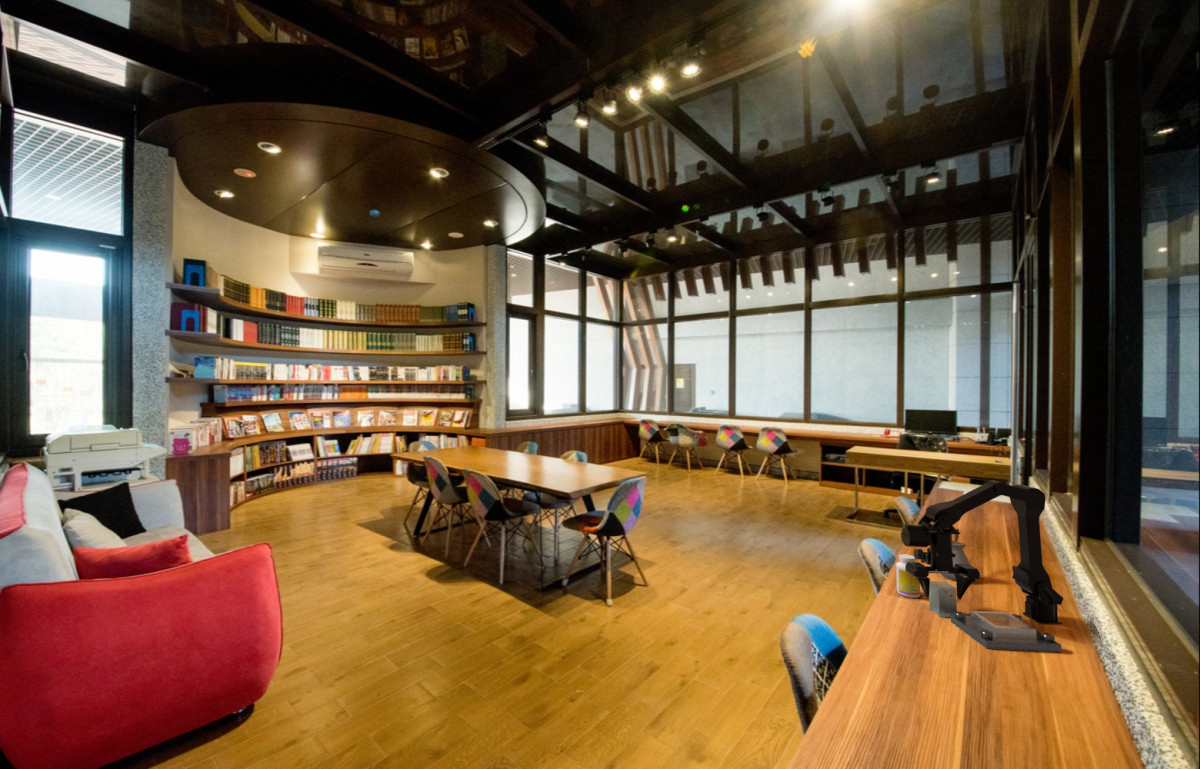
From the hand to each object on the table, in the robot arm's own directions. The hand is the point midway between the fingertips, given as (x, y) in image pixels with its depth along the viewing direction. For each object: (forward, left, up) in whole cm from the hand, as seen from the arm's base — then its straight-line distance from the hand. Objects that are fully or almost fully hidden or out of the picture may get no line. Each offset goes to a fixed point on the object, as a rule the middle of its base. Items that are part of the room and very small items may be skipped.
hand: (942, 598), depth 143 cm
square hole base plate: (-8, +13, -5) cm, 16 cm away
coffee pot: (-25, -36, -5) cm, 44 cm away
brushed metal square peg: (0, 0, -5) cm, 5 cm away
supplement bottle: (+3, -14, -5) cm, 15 cm away
